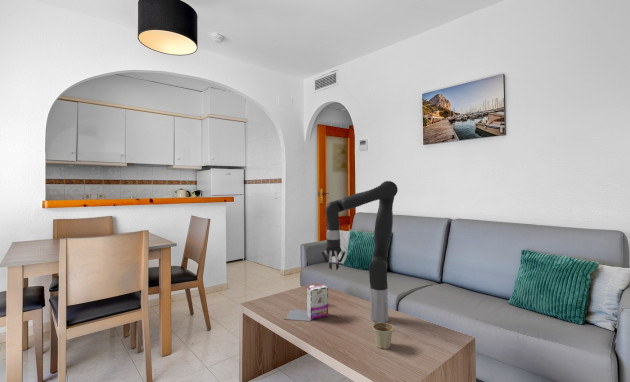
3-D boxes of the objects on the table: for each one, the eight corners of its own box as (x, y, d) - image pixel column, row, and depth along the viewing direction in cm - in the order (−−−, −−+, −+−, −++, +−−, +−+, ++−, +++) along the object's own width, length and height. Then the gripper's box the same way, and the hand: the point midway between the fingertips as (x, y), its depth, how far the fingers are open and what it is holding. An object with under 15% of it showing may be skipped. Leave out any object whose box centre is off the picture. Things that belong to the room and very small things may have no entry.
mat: (315, 311, 183) (315, 311, 183) (310, 321, 170) (310, 320, 170) (290, 310, 186) (290, 309, 186) (283, 319, 173) (283, 318, 173)
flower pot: (378, 338, 150) (378, 320, 150) (397, 344, 144) (397, 325, 144) (369, 346, 142) (368, 327, 142) (388, 353, 137) (387, 333, 136)
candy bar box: (323, 312, 181) (324, 284, 181) (328, 316, 177) (328, 287, 176) (306, 316, 176) (306, 287, 175) (310, 320, 171) (311, 290, 171)
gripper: (346, 237, 175) (347, 267, 176) (322, 236, 178) (322, 267, 179) (345, 239, 168) (345, 271, 168) (319, 239, 171) (320, 270, 171)
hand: (334, 269), depth 174 cm, fingers closed
